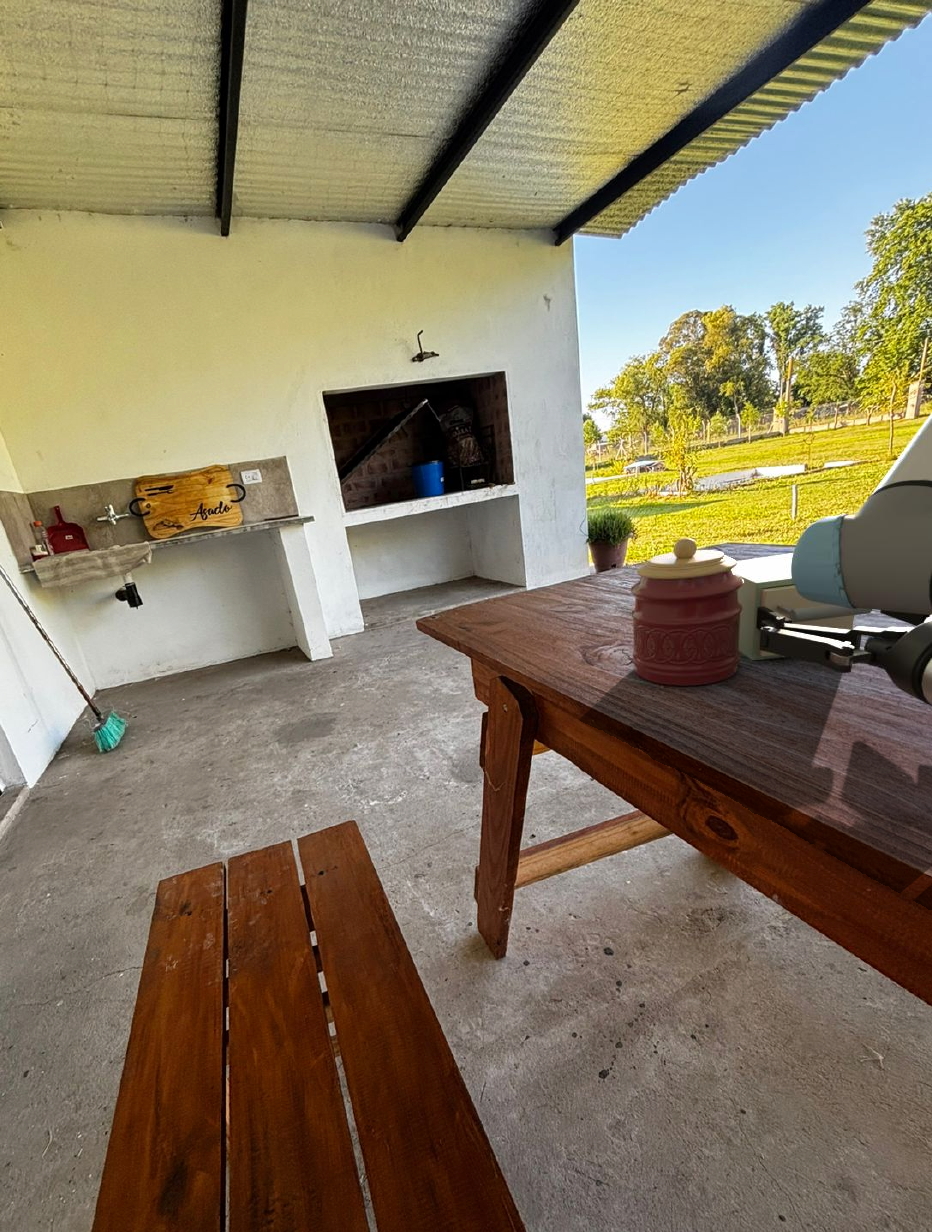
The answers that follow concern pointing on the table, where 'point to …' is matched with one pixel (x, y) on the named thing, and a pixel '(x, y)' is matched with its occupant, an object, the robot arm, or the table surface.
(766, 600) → the sliding drawer
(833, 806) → the table surface
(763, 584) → the small drawer unit
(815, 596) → the robot arm
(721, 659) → the kitchen canister
